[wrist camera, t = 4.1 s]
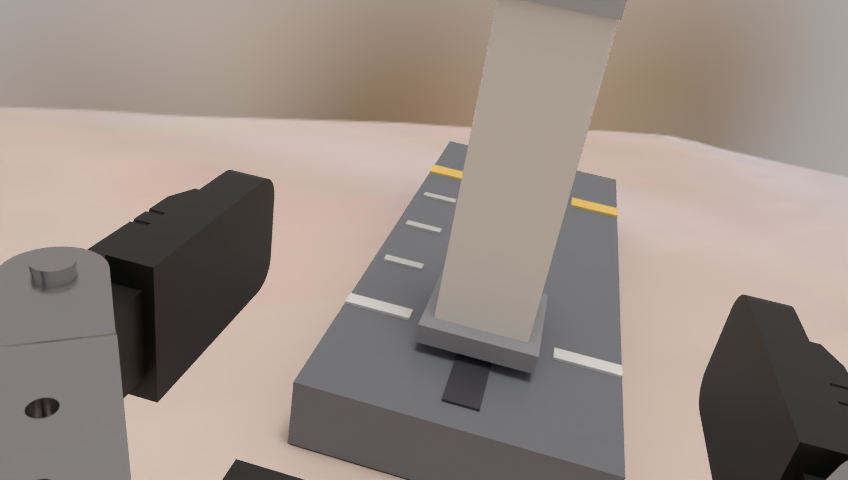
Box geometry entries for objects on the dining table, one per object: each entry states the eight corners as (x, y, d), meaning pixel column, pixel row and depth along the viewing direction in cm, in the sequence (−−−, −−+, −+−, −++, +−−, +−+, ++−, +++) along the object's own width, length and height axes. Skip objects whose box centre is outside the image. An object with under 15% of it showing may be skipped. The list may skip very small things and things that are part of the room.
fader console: (600, 537, 21) (626, 475, 20) (288, 443, 22) (293, 379, 21) (603, 217, 42) (616, 178, 41) (443, 179, 43) (450, 139, 42)
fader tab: (533, 374, 23) (655, -42, 17) (414, 341, 23) (492, -73, 17) (543, 310, 26) (647, -52, 20) (440, 283, 27) (511, -77, 21)
